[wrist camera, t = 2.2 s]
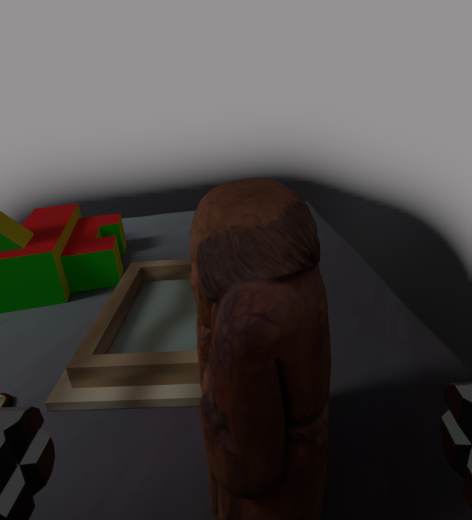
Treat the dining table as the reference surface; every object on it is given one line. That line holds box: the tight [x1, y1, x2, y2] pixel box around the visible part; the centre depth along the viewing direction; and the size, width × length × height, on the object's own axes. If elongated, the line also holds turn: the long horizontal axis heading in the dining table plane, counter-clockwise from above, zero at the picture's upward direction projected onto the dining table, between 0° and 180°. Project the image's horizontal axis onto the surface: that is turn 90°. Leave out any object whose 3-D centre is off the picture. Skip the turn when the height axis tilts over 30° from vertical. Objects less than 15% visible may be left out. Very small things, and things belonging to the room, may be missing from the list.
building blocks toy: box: [0, 204, 126, 313], centre depth 51 cm, size 19×25×18 cm
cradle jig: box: [45, 259, 202, 411], centre depth 41 cm, size 16×22×3 cm
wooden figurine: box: [190, 178, 331, 520], centre depth 21 cm, size 12×6×18 cm, turn 1°
